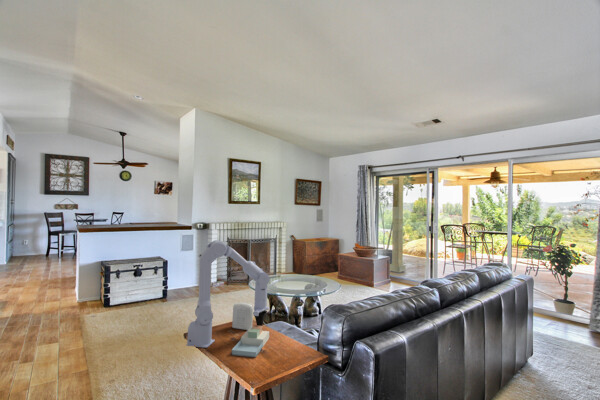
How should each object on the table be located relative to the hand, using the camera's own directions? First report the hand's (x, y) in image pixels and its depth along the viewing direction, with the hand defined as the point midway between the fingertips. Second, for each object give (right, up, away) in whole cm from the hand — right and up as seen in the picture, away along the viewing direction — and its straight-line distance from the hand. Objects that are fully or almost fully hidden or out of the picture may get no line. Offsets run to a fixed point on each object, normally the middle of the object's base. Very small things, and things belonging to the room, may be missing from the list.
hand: (259, 327), depth 146 cm
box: (-3, -3, -17) cm, 17 cm away
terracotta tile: (-1, -1, -5) cm, 5 cm away
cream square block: (-1, -4, -7) cm, 8 cm away
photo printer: (-10, -4, +9) cm, 14 cm away
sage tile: (-1, 0, -9) cm, 9 cm away
